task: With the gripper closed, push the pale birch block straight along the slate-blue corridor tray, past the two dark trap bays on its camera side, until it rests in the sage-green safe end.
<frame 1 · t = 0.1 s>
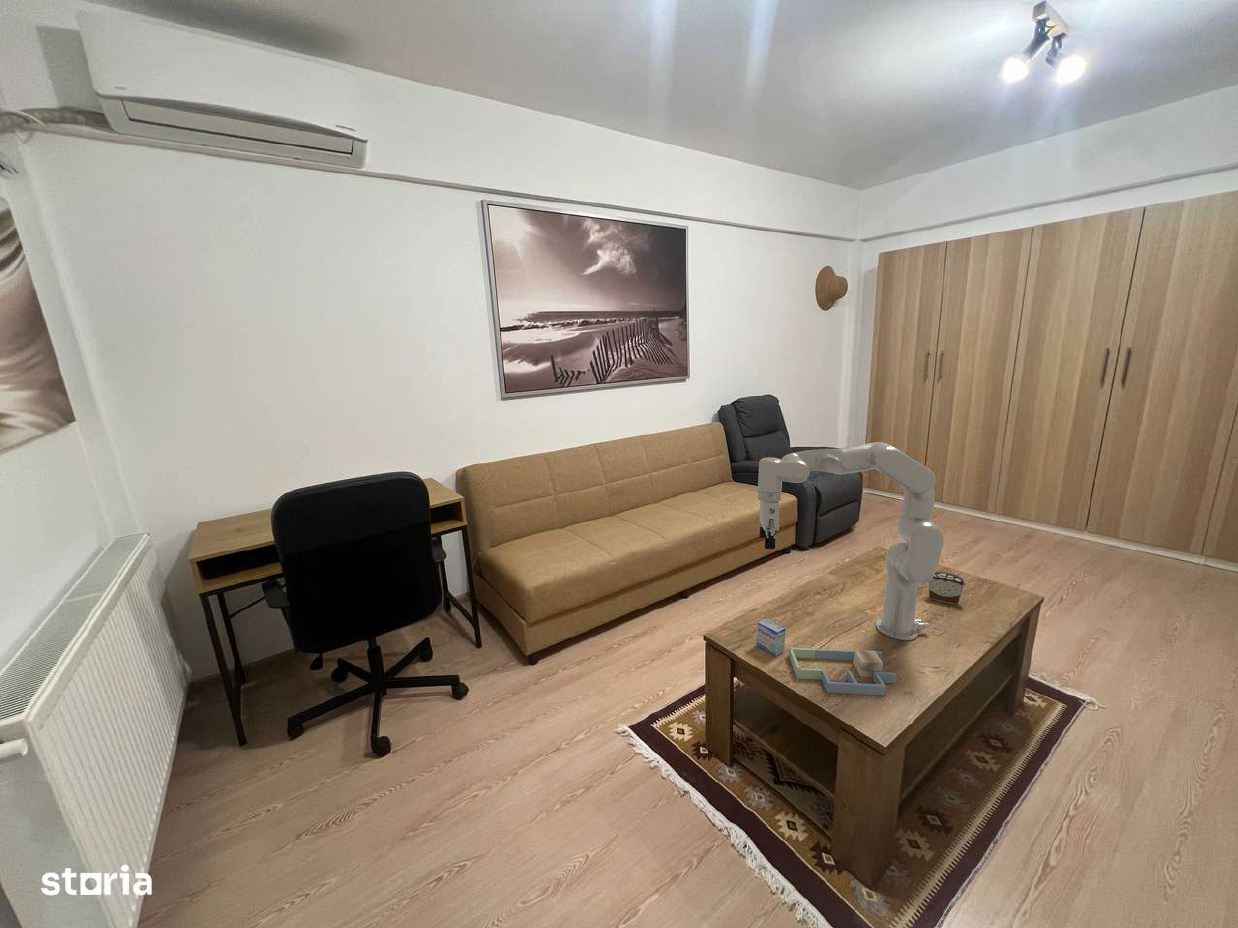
hand: (767, 543, 167), 31 cm above the table, fingers open, 9 cm apart
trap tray: (839, 668, 150), on the table
food container: (943, 598, 190), on the table
medicine box: (770, 649, 161), on the table
birch block: (866, 670, 149), resting in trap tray
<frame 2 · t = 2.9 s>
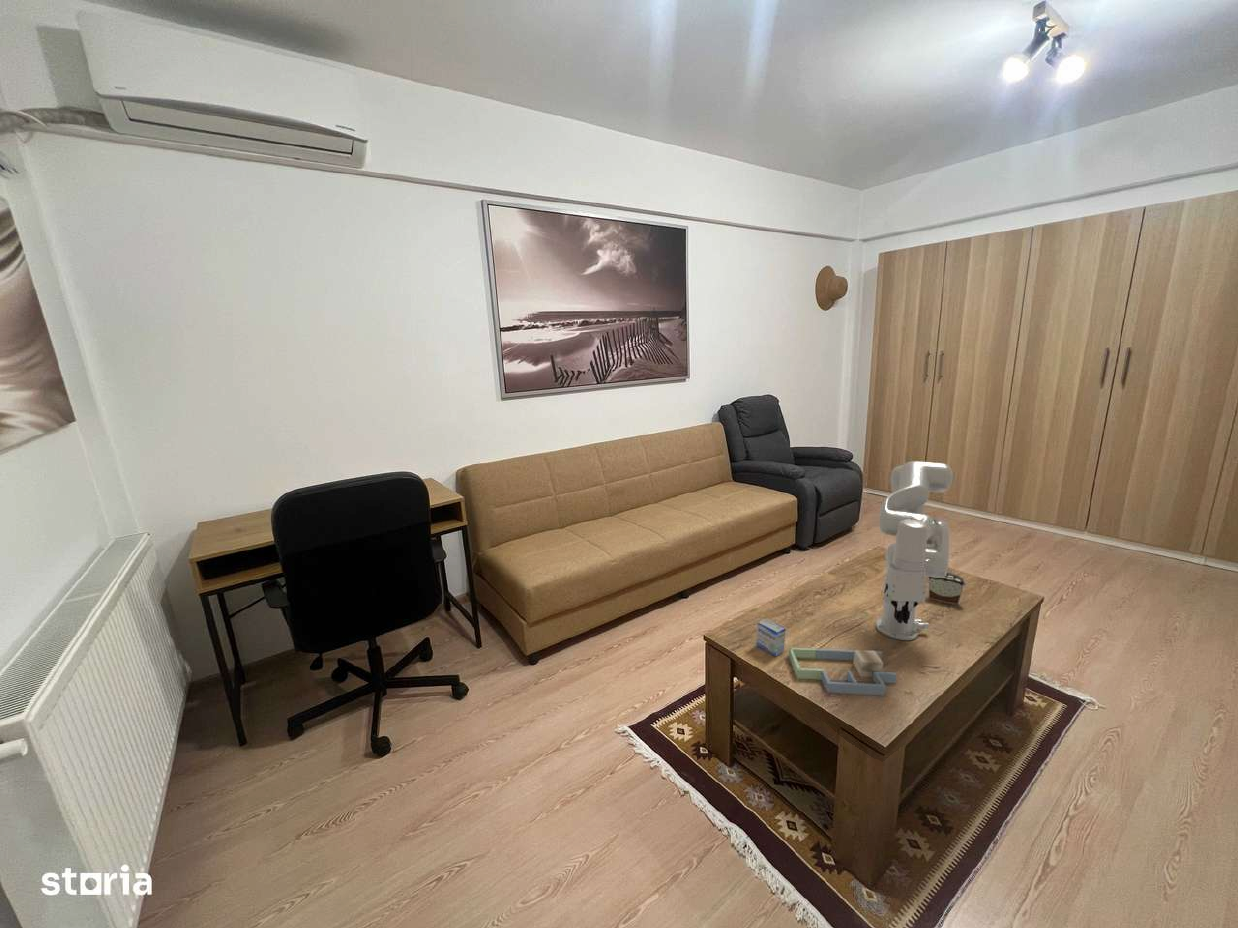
hand: (901, 620, 144), 17 cm above the table, fingers closed
nothing on the table moved.
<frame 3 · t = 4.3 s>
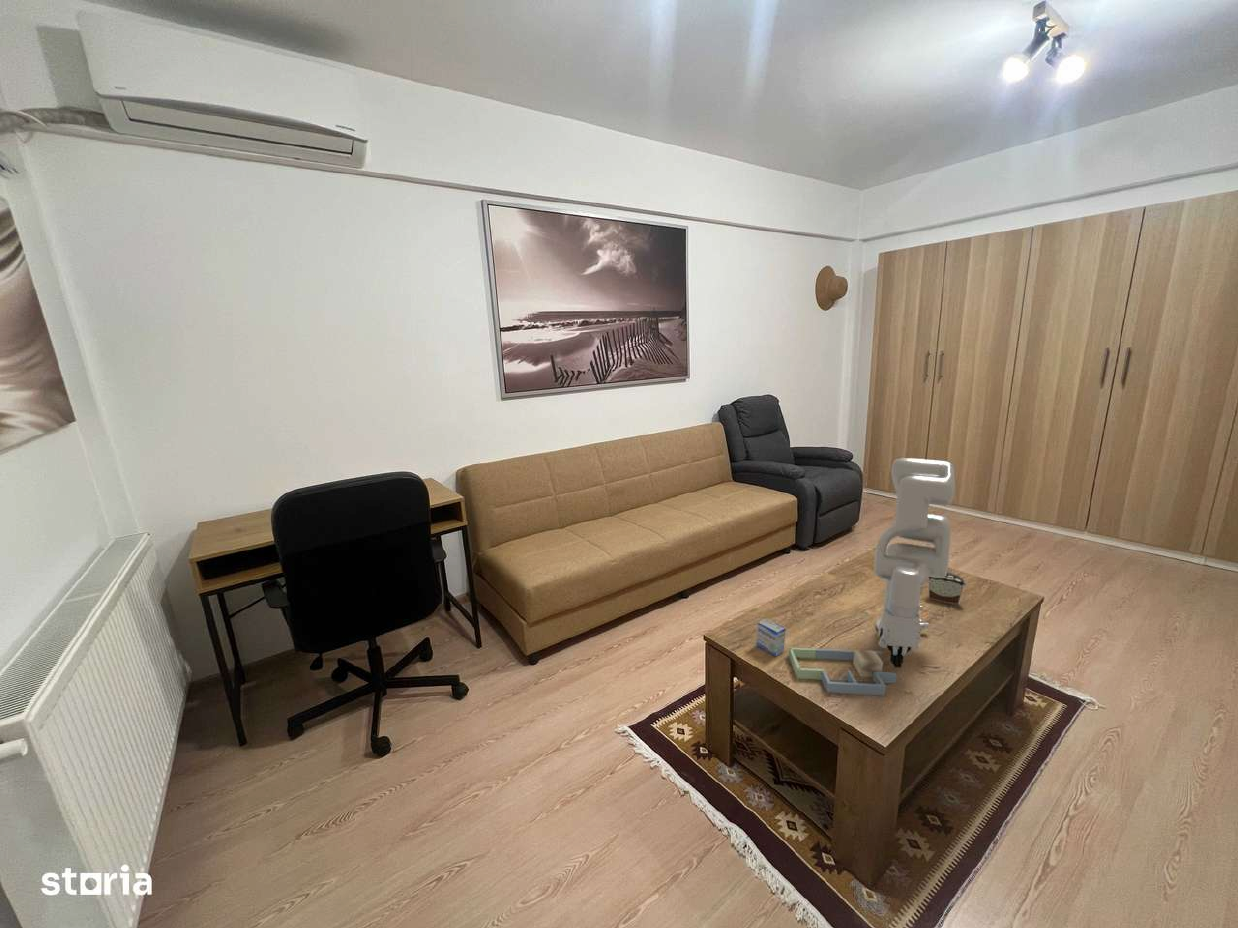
hand: (895, 664, 147), 3 cm above the table, fingers closed
nothing on the table moved.
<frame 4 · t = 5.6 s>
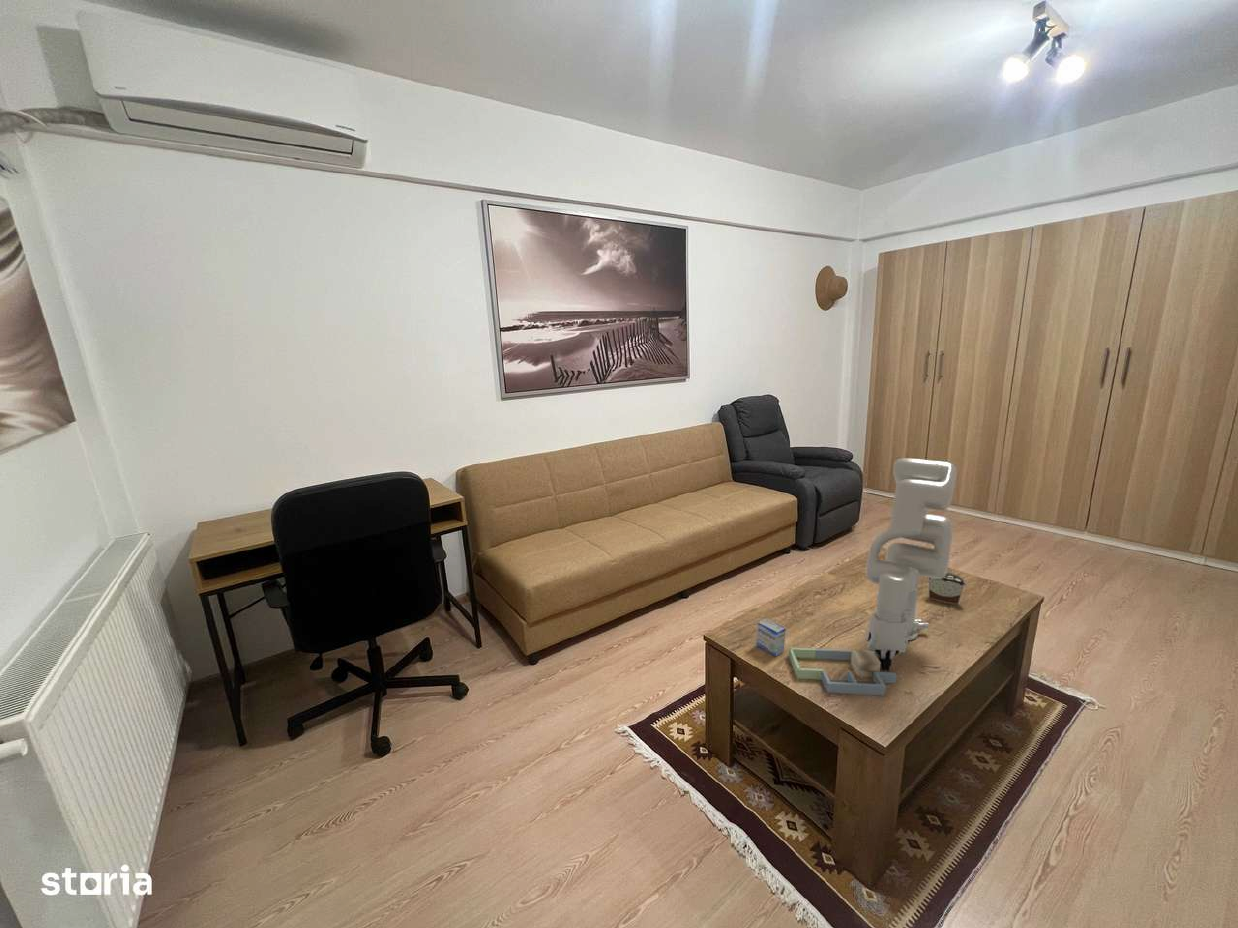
hand: (884, 667, 148), 1 cm above the table, fingers closed
birch block: (864, 670, 149), resting in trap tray, touching gripper
everything else where it was.
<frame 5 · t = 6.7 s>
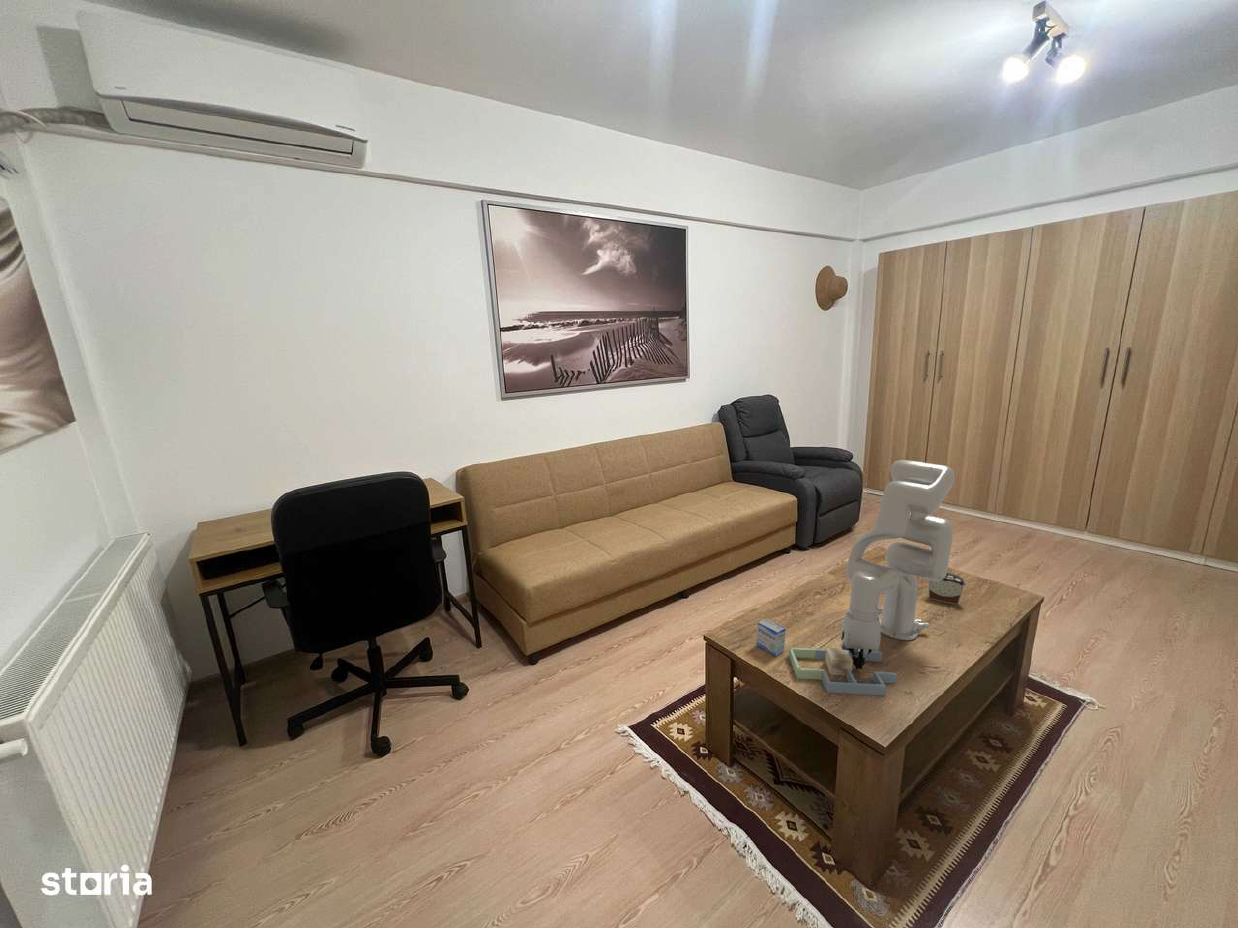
hand: (857, 666, 149), 1 cm above the table, fingers closed
birch block: (838, 668, 150), resting in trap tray, touching gripper
everything else where it was.
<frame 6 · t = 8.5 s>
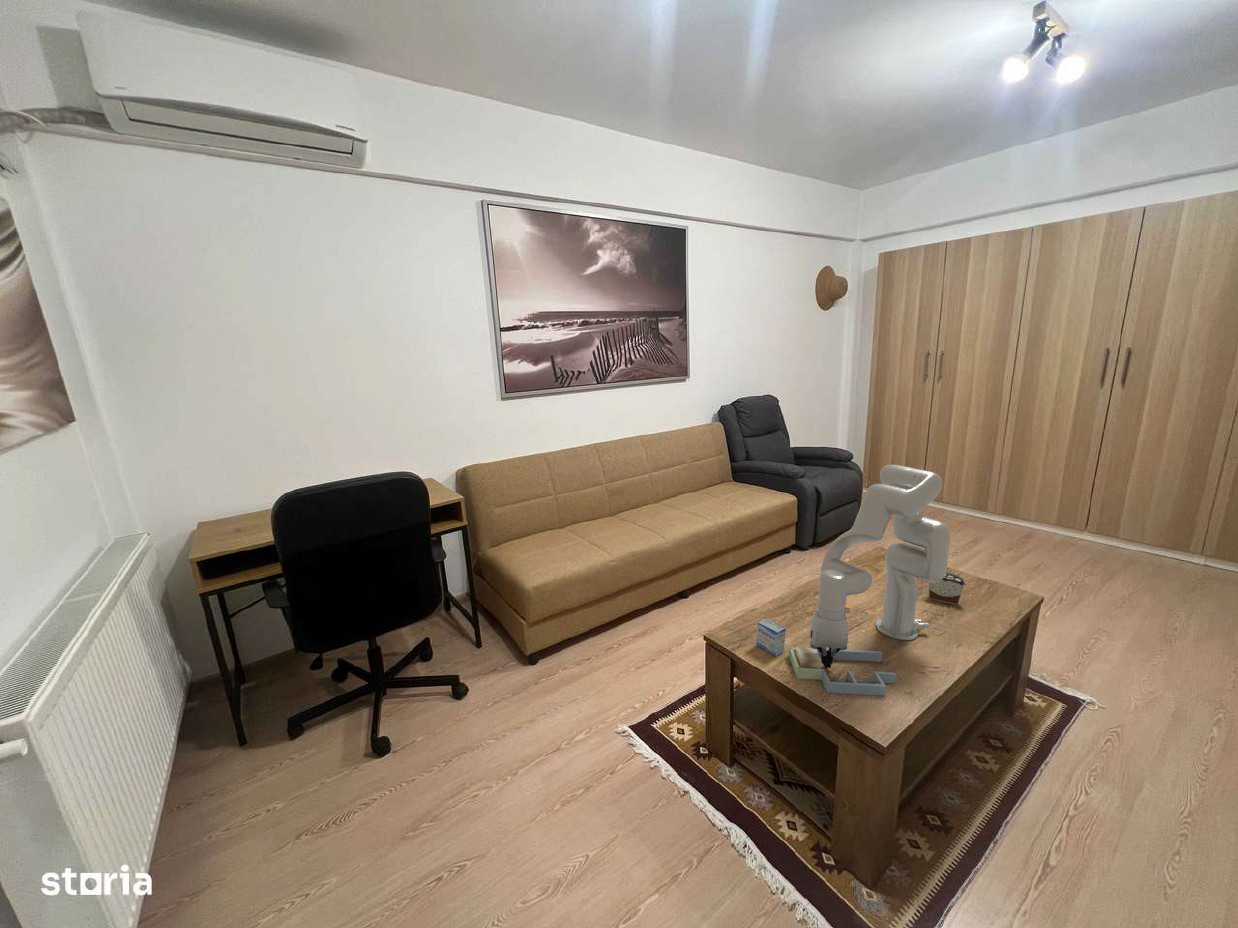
hand: (826, 665, 150), 1 cm above the table, fingers closed
birch block: (807, 667, 151), resting in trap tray, touching gripper
everything else where it was.
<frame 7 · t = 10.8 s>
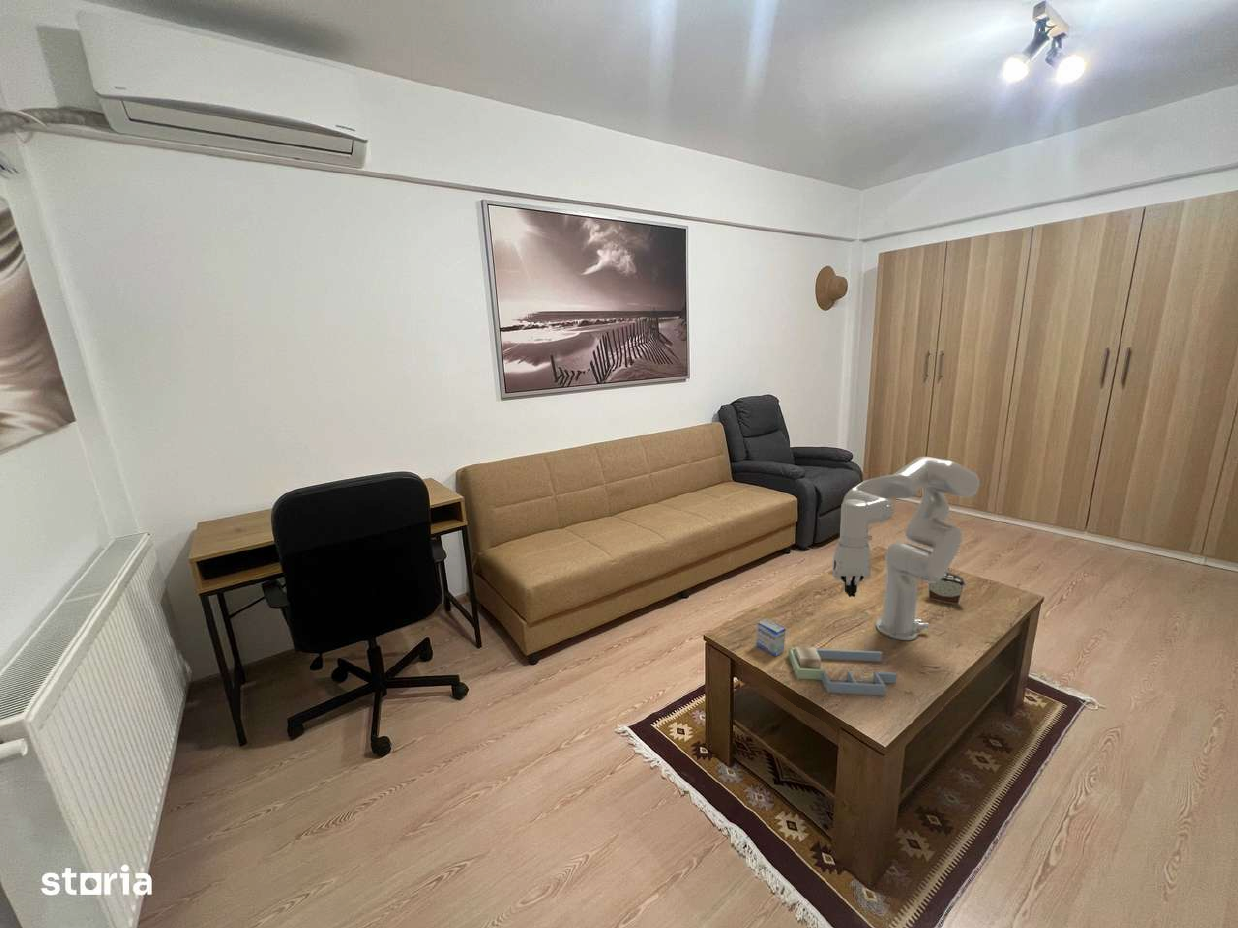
hand: (850, 594, 153), 21 cm above the table, fingers closed
birch block: (807, 667, 151), resting in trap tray
everything else where it was.
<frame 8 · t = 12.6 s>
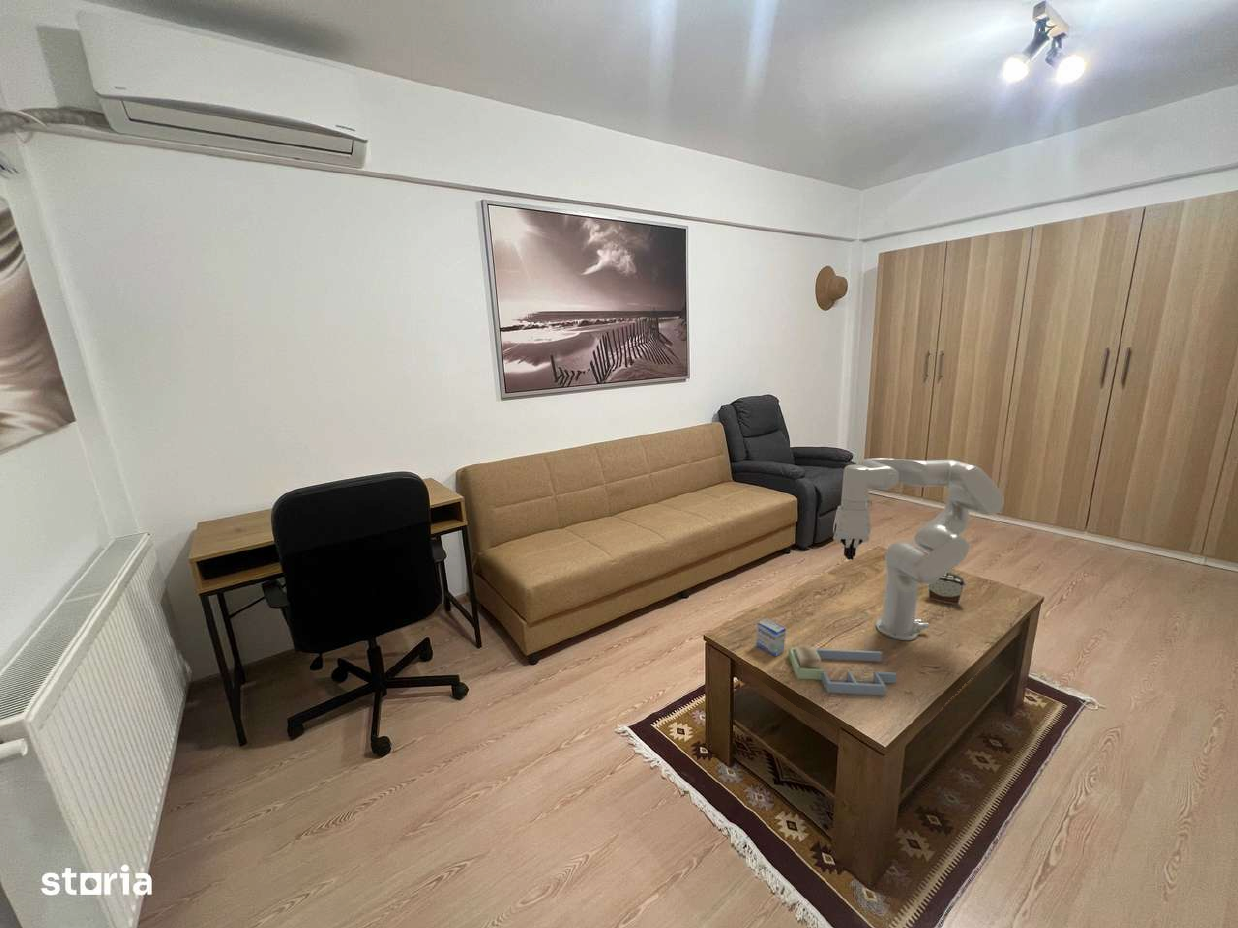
hand: (849, 557, 159), 29 cm above the table, fingers closed
nothing on the table moved.
at the end: birch block inside the target area (1.3 cm from its centre), resting in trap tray; birch block tilted 0° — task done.
